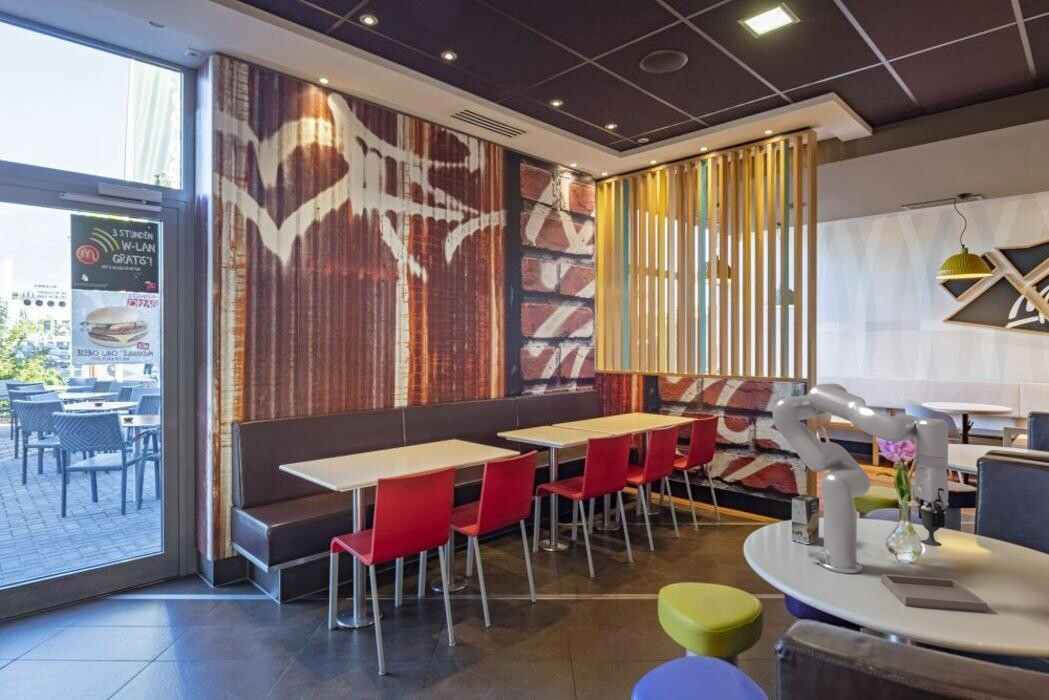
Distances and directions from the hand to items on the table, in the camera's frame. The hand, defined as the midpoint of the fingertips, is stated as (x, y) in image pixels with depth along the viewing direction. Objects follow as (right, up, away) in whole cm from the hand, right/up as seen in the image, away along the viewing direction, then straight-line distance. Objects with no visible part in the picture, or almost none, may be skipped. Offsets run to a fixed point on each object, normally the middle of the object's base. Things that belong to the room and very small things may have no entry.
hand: (931, 522), depth 162 cm
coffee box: (-13, -22, +47) cm, 53 cm away
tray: (0, -22, 0) cm, 22 cm away
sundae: (0, -6, 0) cm, 6 cm away
